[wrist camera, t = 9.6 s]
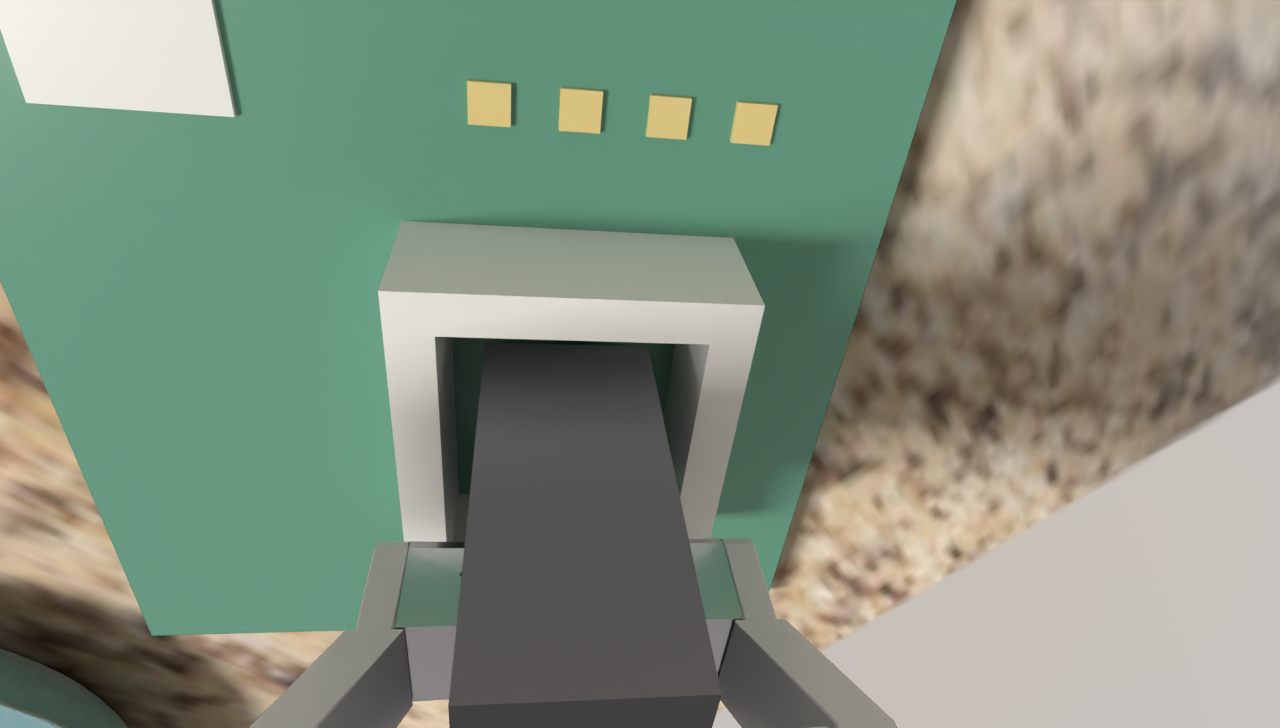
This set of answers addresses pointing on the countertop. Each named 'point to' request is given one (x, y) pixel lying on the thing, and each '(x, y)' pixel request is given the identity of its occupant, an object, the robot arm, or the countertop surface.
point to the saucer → (47, 698)
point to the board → (429, 255)
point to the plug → (577, 552)
